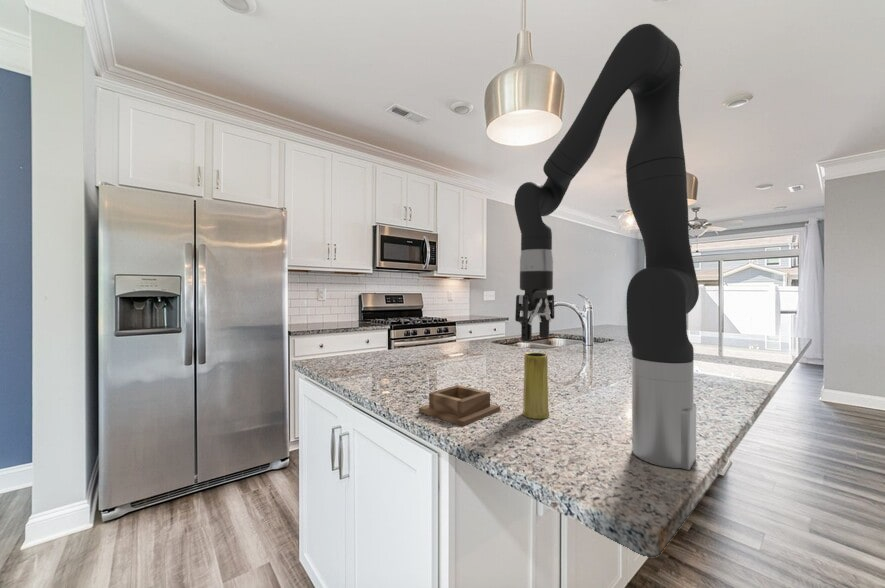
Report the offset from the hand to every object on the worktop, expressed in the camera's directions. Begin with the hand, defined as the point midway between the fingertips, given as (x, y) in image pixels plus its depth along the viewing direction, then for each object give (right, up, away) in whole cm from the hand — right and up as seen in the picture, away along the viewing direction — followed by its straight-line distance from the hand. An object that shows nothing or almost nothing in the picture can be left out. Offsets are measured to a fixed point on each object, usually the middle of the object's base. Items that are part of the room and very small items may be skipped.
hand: (535, 339), depth 86 cm
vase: (0, -18, 0) cm, 18 cm away
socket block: (-18, -18, +3) cm, 25 cm away
